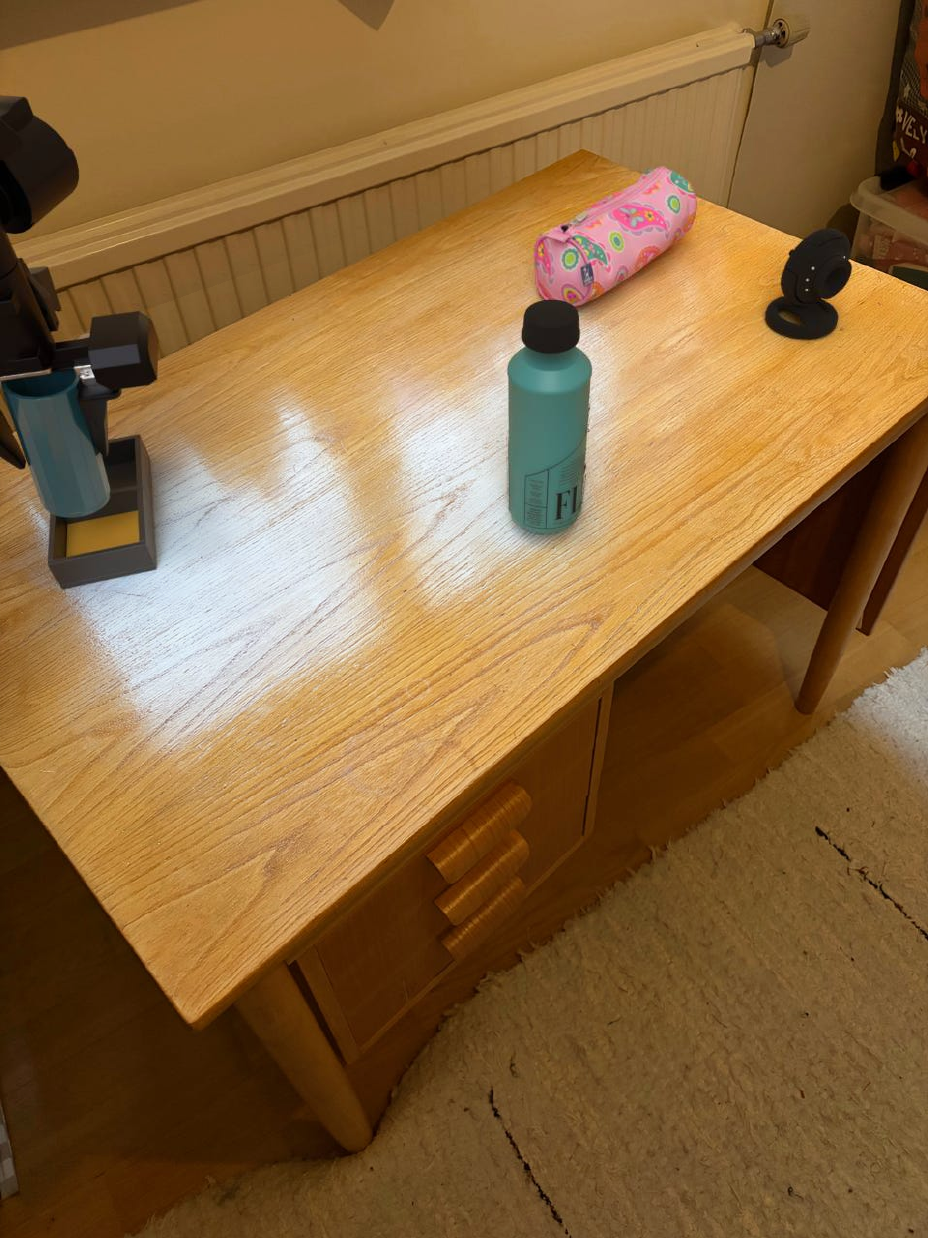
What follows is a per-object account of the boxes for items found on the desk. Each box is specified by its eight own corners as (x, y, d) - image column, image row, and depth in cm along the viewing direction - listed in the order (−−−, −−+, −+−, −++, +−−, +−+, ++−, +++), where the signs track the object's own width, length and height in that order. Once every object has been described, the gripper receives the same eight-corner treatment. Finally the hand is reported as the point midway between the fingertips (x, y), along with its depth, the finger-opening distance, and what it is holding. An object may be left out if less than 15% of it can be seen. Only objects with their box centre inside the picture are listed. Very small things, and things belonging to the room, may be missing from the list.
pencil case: (583, 325, 95) (589, 245, 88) (520, 296, 100) (522, 217, 93) (697, 250, 105) (710, 173, 98) (635, 227, 109) (644, 151, 102)
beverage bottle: (555, 559, 73) (567, 348, 58) (490, 527, 76) (486, 317, 60) (596, 515, 76) (618, 303, 61) (533, 486, 79) (539, 277, 64)
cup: (26, 504, 70) (-17, 384, 62) (72, 467, 73) (36, 350, 65) (81, 526, 69) (45, 407, 61) (125, 488, 72) (96, 371, 64)
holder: (156, 569, 74) (145, 544, 72) (61, 589, 73) (47, 564, 71) (150, 458, 83) (140, 433, 81) (65, 475, 82) (53, 450, 80)
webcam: (795, 349, 91) (822, 256, 83) (748, 315, 95) (769, 225, 88) (852, 327, 93) (883, 235, 86) (804, 296, 98) (829, 205, 90)
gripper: (125, 195, 62) (186, 382, 74) (-150, 230, 61) (-42, 415, 72) (117, 272, 55) (186, 465, 67) (-195, 314, 53) (-67, 504, 65)
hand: (65, 459), depth 68 cm, fingers closed on cup, 6 cm apart
